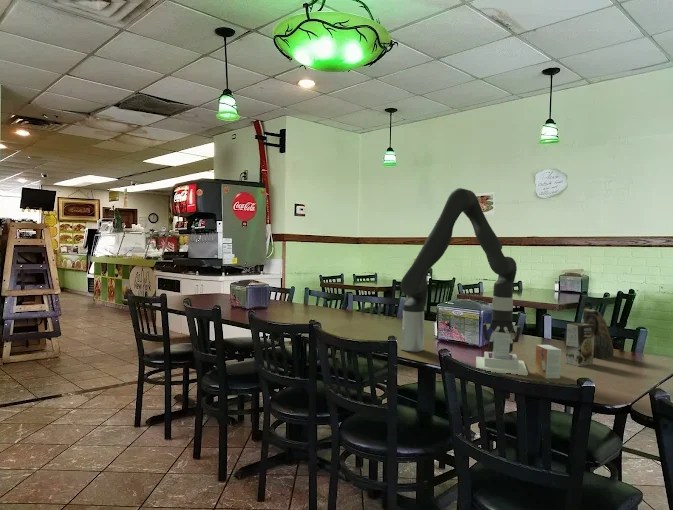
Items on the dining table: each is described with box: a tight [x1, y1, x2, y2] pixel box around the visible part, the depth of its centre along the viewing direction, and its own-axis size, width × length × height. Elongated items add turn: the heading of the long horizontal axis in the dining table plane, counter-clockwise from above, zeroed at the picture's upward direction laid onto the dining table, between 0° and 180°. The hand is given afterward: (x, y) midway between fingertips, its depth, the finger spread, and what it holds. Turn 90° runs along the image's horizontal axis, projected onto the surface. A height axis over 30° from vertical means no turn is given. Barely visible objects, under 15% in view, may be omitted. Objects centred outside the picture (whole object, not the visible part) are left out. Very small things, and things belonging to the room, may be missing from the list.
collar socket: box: [475, 351, 529, 376], centre depth 186 cm, size 18×18×4 cm
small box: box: [534, 344, 563, 379], centre depth 176 cm, size 8×6×10 cm
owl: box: [582, 307, 614, 360], centre depth 211 cm, size 13×13×20 cm
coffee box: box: [565, 322, 595, 367], centre depth 195 cm, size 9×6×16 cm
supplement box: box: [491, 331, 511, 360], centre depth 186 cm, size 6×6×12 cm
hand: (500, 351), depth 186 cm, fingers closed on supplement box, 6 cm apart
